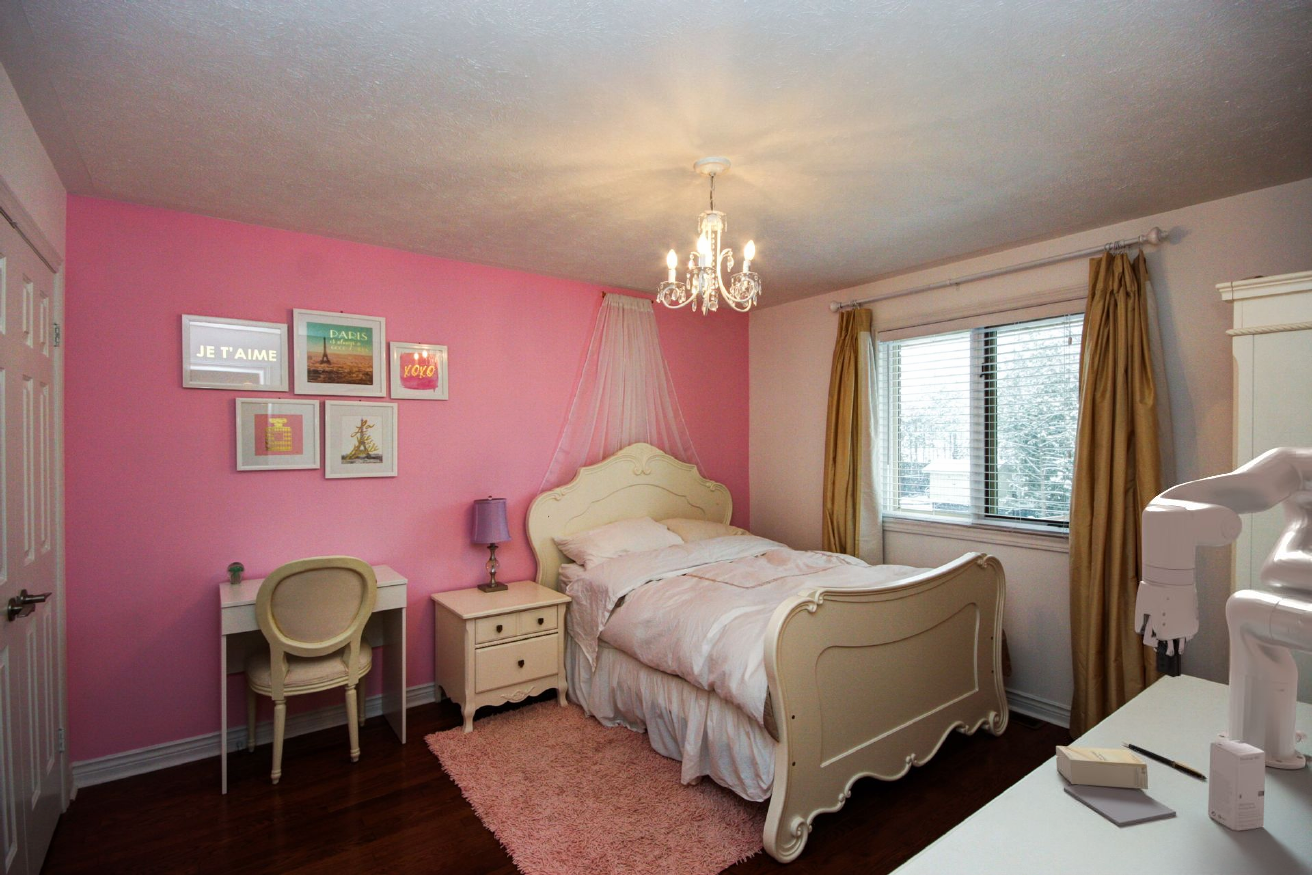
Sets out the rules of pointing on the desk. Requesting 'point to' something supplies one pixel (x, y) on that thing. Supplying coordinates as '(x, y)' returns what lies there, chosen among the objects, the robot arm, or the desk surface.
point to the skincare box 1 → (1102, 767)
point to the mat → (1120, 803)
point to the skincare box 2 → (1236, 785)
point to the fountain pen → (1168, 761)
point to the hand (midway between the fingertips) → (1168, 673)
